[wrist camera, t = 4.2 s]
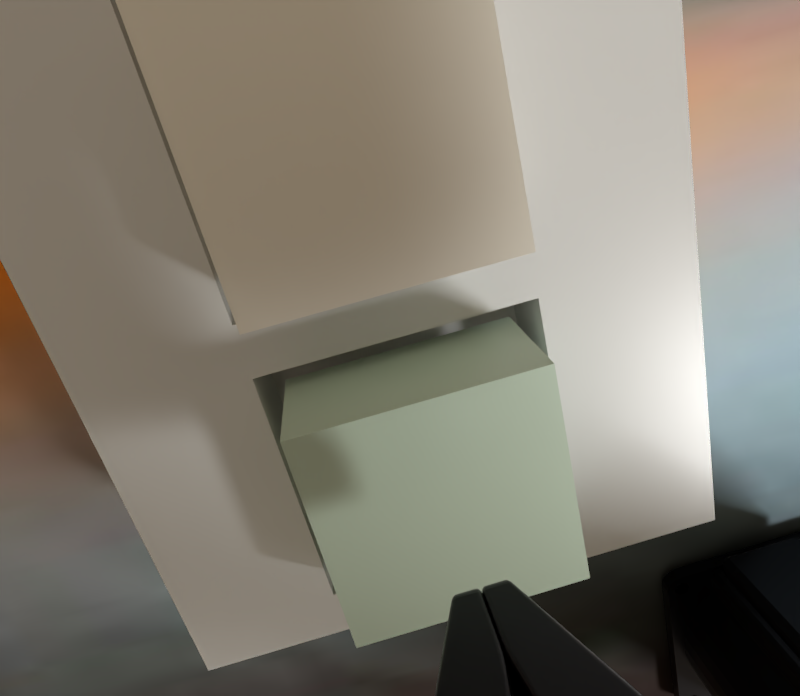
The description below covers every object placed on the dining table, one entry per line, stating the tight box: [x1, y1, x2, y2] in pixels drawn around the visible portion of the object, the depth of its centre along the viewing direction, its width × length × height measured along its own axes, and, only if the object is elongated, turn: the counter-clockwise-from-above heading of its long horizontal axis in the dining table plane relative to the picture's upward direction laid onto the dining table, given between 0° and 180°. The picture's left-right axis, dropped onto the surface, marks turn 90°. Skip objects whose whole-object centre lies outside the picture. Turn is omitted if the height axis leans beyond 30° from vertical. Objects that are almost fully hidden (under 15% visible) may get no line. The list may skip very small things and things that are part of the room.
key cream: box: [115, 0, 536, 335], centre depth 10 cm, size 5×5×2 cm
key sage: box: [280, 317, 590, 648], centre depth 12 cm, size 5×5×2 cm
